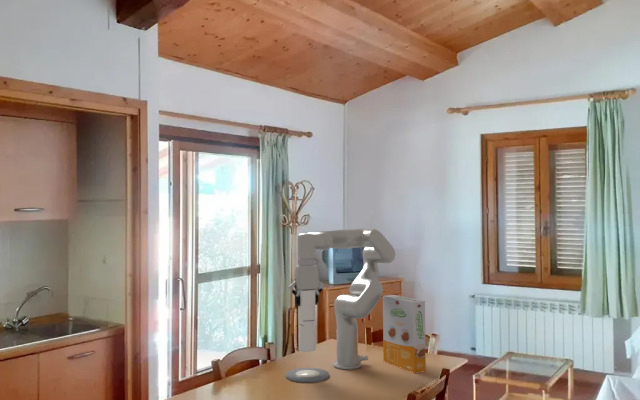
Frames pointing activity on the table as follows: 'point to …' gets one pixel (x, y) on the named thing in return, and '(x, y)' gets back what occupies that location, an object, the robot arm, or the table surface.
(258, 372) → the table surface
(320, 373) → the plate
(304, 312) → the cylindrical container
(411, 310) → the cereal box
